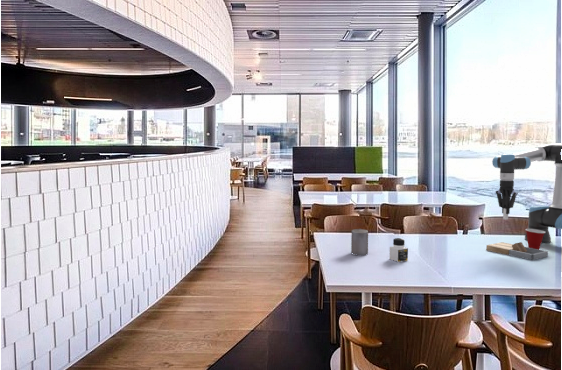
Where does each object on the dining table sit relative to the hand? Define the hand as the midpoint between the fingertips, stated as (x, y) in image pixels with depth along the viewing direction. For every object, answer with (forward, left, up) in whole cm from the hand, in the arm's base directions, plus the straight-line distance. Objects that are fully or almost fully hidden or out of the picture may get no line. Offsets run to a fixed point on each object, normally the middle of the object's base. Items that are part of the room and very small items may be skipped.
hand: (505, 219), depth 271 cm
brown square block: (+1, +8, -17) cm, 19 cm away
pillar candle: (+80, -39, -19) cm, 92 cm away
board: (0, +1, -19) cm, 19 cm away
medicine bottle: (+71, -17, -19) cm, 76 cm away
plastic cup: (-19, +8, -19) cm, 28 cm away
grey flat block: (0, +15, -19) cm, 24 cm away
